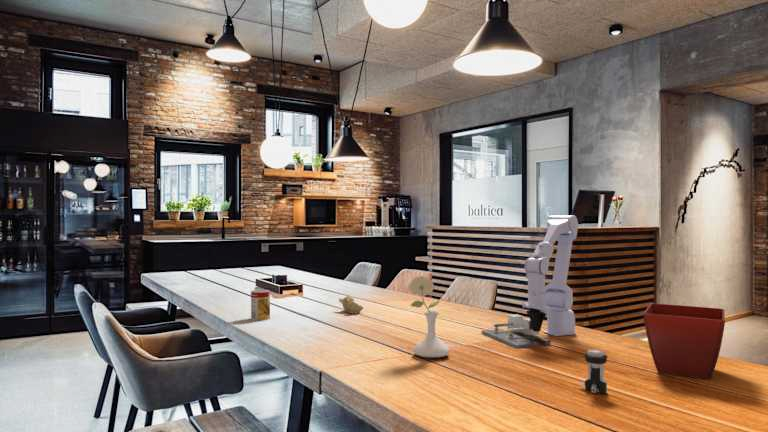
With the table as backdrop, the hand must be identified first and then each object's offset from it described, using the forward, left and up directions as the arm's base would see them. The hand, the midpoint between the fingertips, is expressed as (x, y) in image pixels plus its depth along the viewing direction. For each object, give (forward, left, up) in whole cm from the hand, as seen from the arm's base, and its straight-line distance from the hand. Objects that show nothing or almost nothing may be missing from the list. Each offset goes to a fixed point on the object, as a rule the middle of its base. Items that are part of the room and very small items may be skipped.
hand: (536, 331), depth 187 cm
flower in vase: (+43, +5, -4) cm, 43 cm away
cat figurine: (+47, -77, -4) cm, 90 cm away
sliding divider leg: (+4, -4, -2) cm, 5 cm away
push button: (+18, +50, -4) cm, 54 cm away
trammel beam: (0, -6, -3) cm, 6 cm away
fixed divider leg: (+3, -13, -2) cm, 14 cm away
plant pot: (-18, +44, -4) cm, 48 cm away
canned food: (+87, -76, -4) cm, 115 cm away
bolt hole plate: (+8, -6, -3) cm, 10 cm away
